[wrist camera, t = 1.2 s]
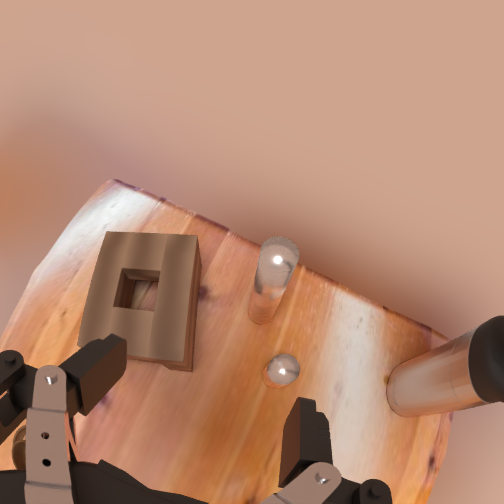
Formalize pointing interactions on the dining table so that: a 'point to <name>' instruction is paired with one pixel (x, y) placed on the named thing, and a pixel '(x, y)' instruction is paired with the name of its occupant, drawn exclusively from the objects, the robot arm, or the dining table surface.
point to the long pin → (272, 277)
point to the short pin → (281, 371)
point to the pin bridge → (167, 299)
